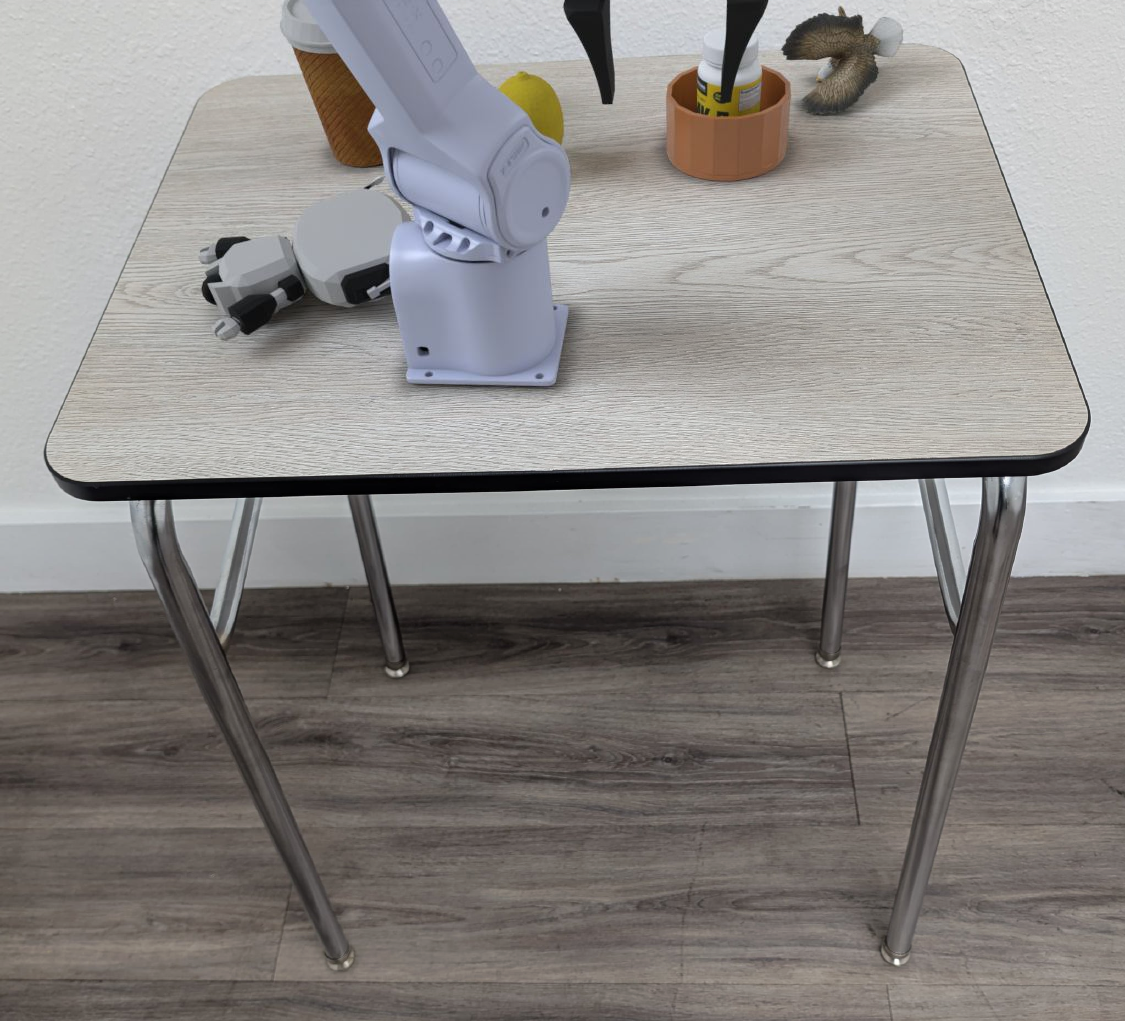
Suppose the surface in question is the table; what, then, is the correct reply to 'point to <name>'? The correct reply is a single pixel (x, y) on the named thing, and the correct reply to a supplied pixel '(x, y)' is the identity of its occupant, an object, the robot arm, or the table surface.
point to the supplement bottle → (745, 82)
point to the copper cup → (727, 131)
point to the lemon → (536, 103)
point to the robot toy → (305, 261)
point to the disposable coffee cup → (331, 88)
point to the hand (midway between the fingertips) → (666, 96)
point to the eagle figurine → (841, 56)
